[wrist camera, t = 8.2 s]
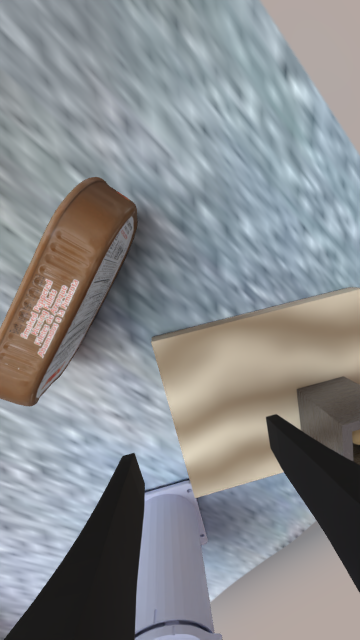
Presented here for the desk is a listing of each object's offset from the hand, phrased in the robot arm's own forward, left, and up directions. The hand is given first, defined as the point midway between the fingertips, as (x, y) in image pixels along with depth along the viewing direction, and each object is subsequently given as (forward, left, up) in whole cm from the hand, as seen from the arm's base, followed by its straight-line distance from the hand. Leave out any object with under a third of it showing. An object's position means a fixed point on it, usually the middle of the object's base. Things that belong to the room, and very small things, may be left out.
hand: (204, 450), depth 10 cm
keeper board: (-5, -8, -9) cm, 13 cm away
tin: (+9, +6, -10) cm, 15 cm away
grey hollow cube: (-7, -13, -8) cm, 16 cm away
